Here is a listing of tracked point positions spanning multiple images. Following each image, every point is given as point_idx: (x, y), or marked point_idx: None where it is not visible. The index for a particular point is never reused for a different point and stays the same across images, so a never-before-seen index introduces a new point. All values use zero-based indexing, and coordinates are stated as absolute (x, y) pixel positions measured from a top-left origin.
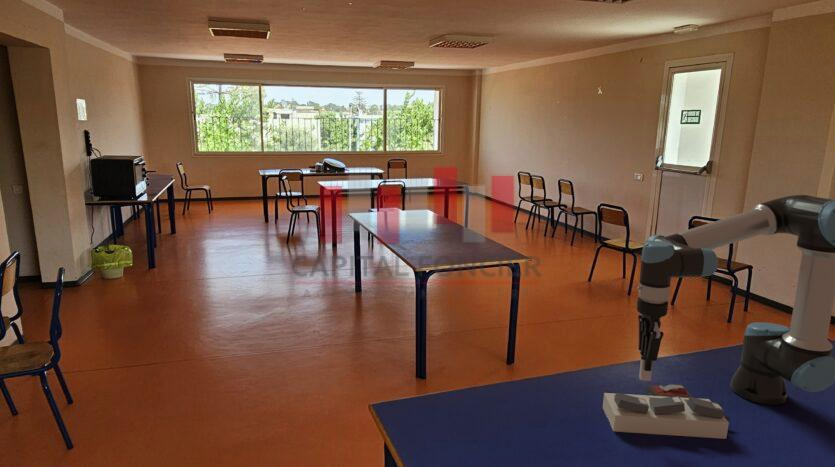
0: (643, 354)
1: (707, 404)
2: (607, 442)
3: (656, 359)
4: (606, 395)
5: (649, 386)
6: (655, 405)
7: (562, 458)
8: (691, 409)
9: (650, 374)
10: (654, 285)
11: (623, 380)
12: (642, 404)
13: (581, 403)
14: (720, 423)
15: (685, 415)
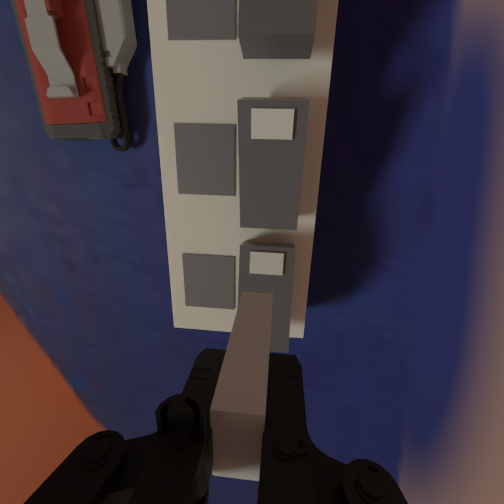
0: (208, 484)
1: None
2: (347, 336)
3: (399, 494)
4: (188, 325)
5: (56, 134)
6: (286, 221)
7: (400, 432)
8: (294, 57)
9: (270, 320)
10: None
11: (12, 190)
12: (288, 271)
13: (177, 342)
14: None
15: (295, 92)
